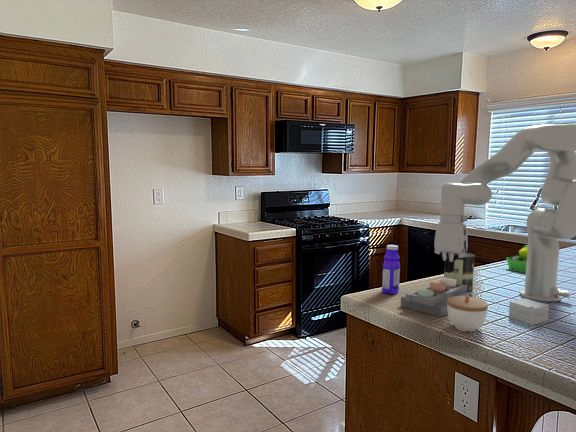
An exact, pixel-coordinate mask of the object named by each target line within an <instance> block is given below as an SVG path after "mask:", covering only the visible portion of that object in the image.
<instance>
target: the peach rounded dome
mask: <svg viewBox="0 0 576 432" xmlns="http://www.w3.org/2000/svg"><path fill="white" fill-rule="evenodd" d="M440 281H441V280H438V281H437V280H432V281H429V285H430V289H431V290H433V291H434V292H439V293H443V292H445V287H446V283H444V282H440Z"/></svg>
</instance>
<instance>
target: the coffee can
mask: <svg viewBox="0 0 576 432" xmlns="http://www.w3.org/2000/svg"><path fill="white" fill-rule="evenodd" d="M465 253H466V257H463V258H458V259H457V260H456V261H455V265H454V270H453V272H451V273H448V272H445V269H444V268H443V270H444V273H443V277H452V278H455V279H457V281H456V283H458V284H463V285H467V291H465V292H468V293H472V294H473V293H474V292H473V290H474V289H473V288H474V272H475V269H474V267H475V257H476V255H475V254H474V253H471V252H468V251H466V252H465ZM450 254H451V253H449V256H450Z"/></svg>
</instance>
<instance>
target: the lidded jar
mask: <svg viewBox="0 0 576 432" xmlns="http://www.w3.org/2000/svg"><path fill="white" fill-rule="evenodd" d="M488 307H489V304H488V303H487V302H486V301H485V300H482V299H480V298H477V297H473V296H472V297H469V296H454V297H450V298H448V299H447V313H448V314H447V317H448V320H449V322H450V323H451V324H452V325H453V327H454V326H455V327H456V328H457V329H456V328H455V327H454V328H455V329H456V330H458V329H460V330H459V331H461V330H464V331H463V332H466V331H474V332H476V330H477V331H478V329H480V328H481V327H482V326H483V325H484V323H485V322H486V318H487V313H488Z"/></svg>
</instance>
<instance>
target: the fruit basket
mask: <svg viewBox="0 0 576 432" xmlns="http://www.w3.org/2000/svg"><path fill="white" fill-rule="evenodd" d="M527 252H528V244H525V245H524V246H523V247H522V248H521V249H519V250H518V255H515V256H511V257H510V256H508V257H506V259H505V260H506V261H507V265H508V269H509V270H512V269H513V270H514V271H516V270H518V271H517V272H520V271H522V272H521V273H525V272H526V265H527Z"/></svg>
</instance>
